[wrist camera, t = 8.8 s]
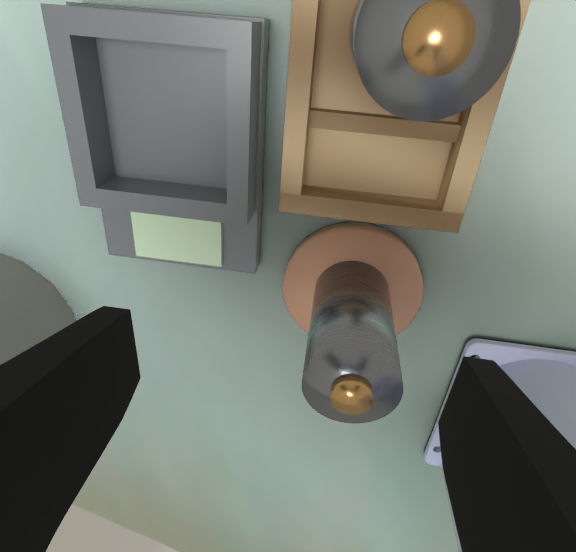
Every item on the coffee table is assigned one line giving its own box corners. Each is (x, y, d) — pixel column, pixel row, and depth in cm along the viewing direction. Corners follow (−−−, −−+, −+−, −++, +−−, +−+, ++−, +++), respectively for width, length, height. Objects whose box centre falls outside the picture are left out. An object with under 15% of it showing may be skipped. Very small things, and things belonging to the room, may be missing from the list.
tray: (448, 215, 18) (457, 233, 16) (285, 196, 18) (278, 211, 17) (539, -97, 13) (565, -113, 11) (307, -111, 13) (300, -129, 11)
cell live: (438, 91, 15) (495, 133, 9) (342, 81, 15) (343, 117, 10) (467, -27, 13) (560, -59, 8) (358, -37, 13) (371, -76, 8)
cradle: (259, 262, 20) (247, 292, 18) (119, 244, 21) (91, 271, 18) (269, 19, 15) (255, 17, 13) (81, 3, 15) (36, -1, 13)
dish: (404, 344, 21) (406, 355, 21) (280, 327, 22) (278, 337, 21) (436, 231, 18) (439, 239, 17) (290, 213, 19) (288, 221, 18)
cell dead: (381, 327, 20) (393, 441, 15) (311, 317, 20) (296, 426, 15) (396, 265, 18) (415, 369, 13) (319, 256, 19) (305, 353, 13)
